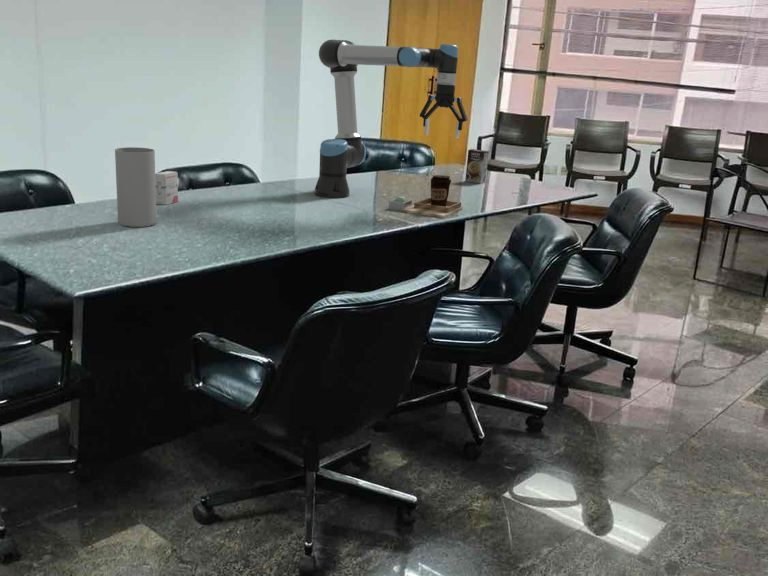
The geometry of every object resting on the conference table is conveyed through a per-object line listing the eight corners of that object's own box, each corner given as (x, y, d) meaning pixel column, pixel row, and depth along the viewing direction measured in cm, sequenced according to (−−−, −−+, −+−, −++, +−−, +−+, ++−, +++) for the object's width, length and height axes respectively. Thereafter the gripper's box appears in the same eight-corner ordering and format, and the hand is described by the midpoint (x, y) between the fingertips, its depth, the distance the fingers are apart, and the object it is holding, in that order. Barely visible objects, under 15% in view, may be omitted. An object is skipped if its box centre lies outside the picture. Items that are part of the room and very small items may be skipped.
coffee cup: (447, 210, 312) (450, 178, 308) (427, 208, 313) (429, 176, 309) (449, 206, 320) (452, 175, 316) (430, 204, 321) (432, 173, 317)
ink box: (168, 200, 303) (167, 170, 299) (178, 201, 301) (178, 171, 298) (154, 203, 295) (153, 173, 291) (165, 205, 293) (164, 174, 290)
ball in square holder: (388, 209, 312) (389, 200, 311) (395, 206, 318) (396, 198, 317) (404, 211, 309) (404, 202, 308) (411, 208, 316) (411, 200, 314)
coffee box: (464, 181, 392) (467, 149, 387) (470, 180, 397) (473, 148, 393) (480, 183, 388) (484, 151, 383) (486, 182, 393) (489, 150, 388)
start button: (394, 205, 313) (394, 197, 312) (397, 204, 316) (398, 196, 315) (402, 207, 311) (403, 198, 310) (405, 205, 314) (406, 197, 313)
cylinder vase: (138, 218, 270) (136, 146, 263) (164, 223, 264) (162, 150, 257) (110, 223, 260) (106, 149, 252) (136, 229, 254) (133, 153, 247)
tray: (401, 211, 308) (402, 204, 307) (422, 203, 328) (423, 196, 327) (443, 218, 301) (444, 210, 300) (462, 209, 321) (463, 202, 320)
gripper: (414, 81, 315) (410, 134, 321) (472, 86, 306) (467, 140, 312) (421, 81, 322) (417, 132, 328) (478, 86, 312) (473, 139, 318)
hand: (441, 136), depth 320 cm, fingers open, 13 cm apart
